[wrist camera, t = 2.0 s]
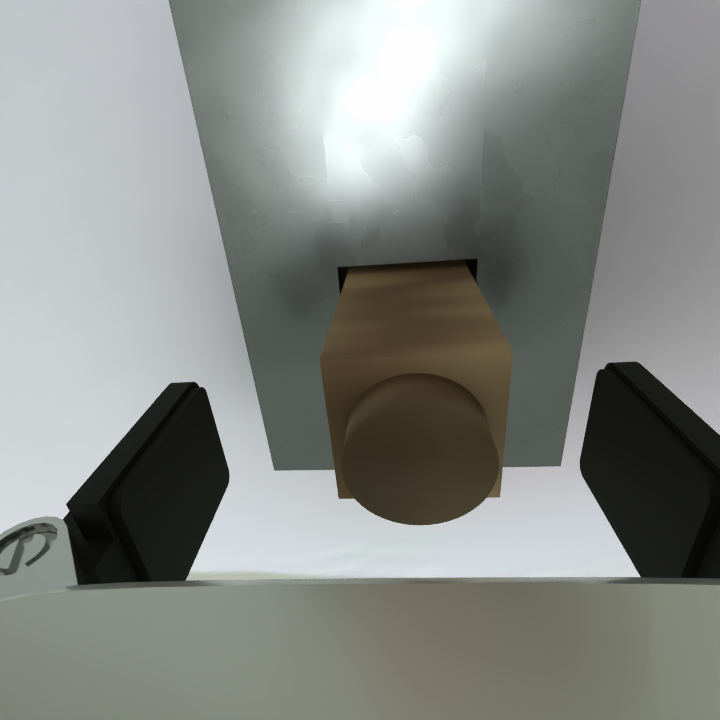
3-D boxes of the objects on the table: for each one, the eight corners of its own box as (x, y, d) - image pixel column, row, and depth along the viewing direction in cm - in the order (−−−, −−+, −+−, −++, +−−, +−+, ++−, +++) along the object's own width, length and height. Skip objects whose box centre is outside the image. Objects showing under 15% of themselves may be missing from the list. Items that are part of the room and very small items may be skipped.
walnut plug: (453, 241, 18) (529, 382, 8) (451, 331, 19) (511, 537, 10) (355, 247, 18) (310, 390, 8) (363, 335, 20) (333, 537, 10)
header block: (636, -539, 10) (823, -1055, 6) (527, 399, 22) (560, 466, 18) (148, -427, 11) (-7, -781, 7) (296, 406, 23) (274, 470, 19)
